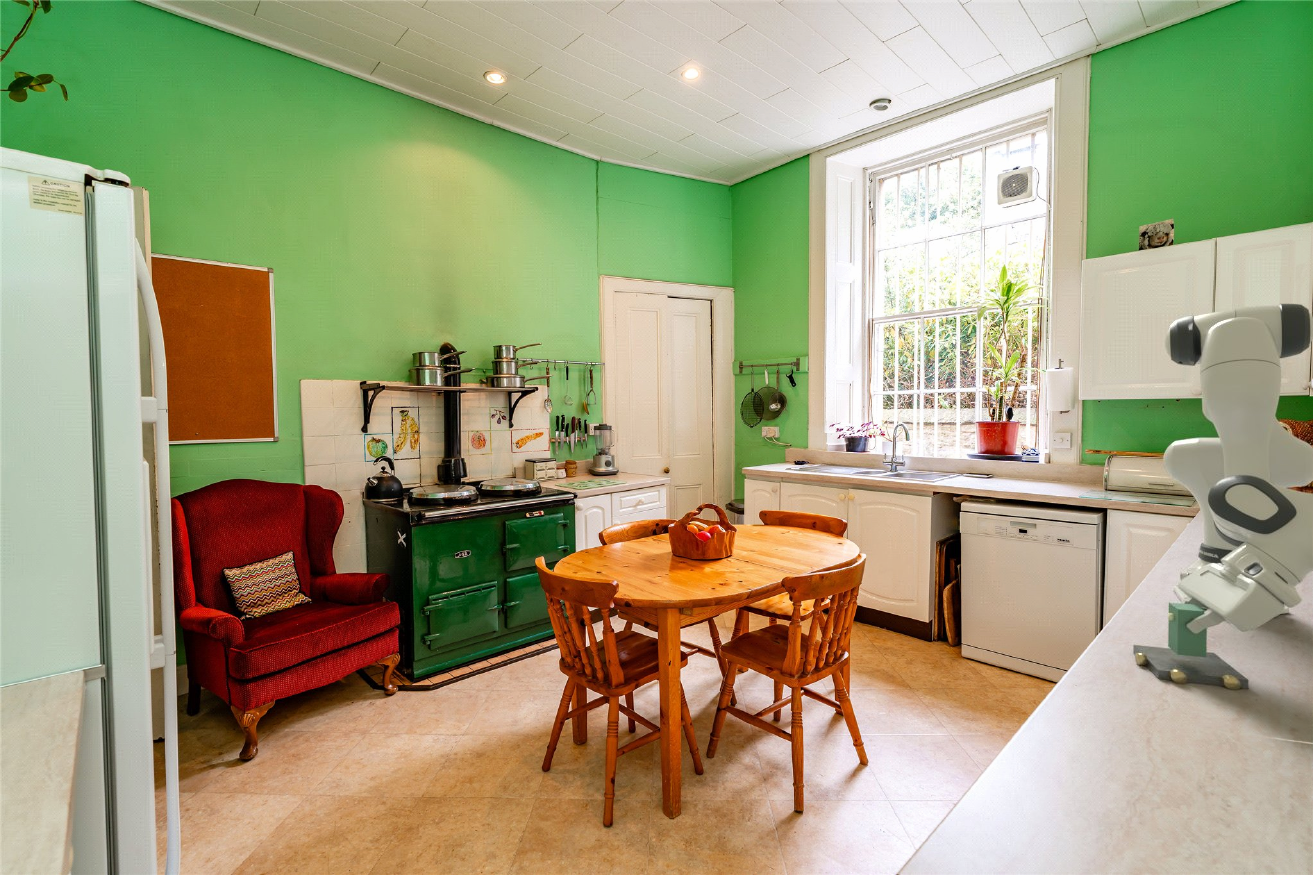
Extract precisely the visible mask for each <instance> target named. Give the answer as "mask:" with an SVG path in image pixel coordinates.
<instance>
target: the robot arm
mask: <svg viewBox="0 0 1313 875" xmlns="http://www.w3.org/2000/svg"><path fill="white" fill-rule="evenodd" d="M1312 342H1313V315H1312V314H1311V313H1310V311H1309V308H1307V307H1306V306H1304V305H1302V304H1298V303H1279V304H1278V305H1260V306H1259V305H1258V306H1255V305H1254V306H1245V307H1244V306H1243V307H1235V308H1234V309H1233V308H1232V309H1226V310H1220V311H1214V312H1209V313H1205V314H1204V313H1203V314H1199V315H1195V316H1194V315H1193V314H1192V315H1187V316H1184V317H1180V318H1177V319H1176V320H1174V321H1173V322H1172V323H1171V324H1170V325H1169V329H1168V330H1167V332H1166V335H1165V338H1164V347H1165V350H1166V352H1167V354H1168V356H1169V357H1170V359H1171V360H1170V361H1173V362H1174V363H1176V364H1177V365H1182V366H1190V367H1191V366H1192V367H1193V366H1196V365H1200V367H1199V368H1200V371H1199V374H1200V376H1199V378H1200V390H1201V406H1202V407H1201V408H1202V414H1203V415H1204V417H1205V418H1206V419H1207V420H1208V421H1210V422H1211V423H1212V424H1213V425H1214V428H1215V431H1216V432H1217V435H1218V437H1194V438H1193V437H1192V438H1185V439H1179V440H1174V441H1173V442H1172V443H1171V444H1170V445H1168V446H1167V448H1166V450H1165V451H1164V454H1163V457H1162V464H1163V468H1164V470H1165V472H1166V473H1167V474H1168V475H1169V476H1170V478H1171V479H1173V480H1174V481H1176V482H1178V484H1180V485H1182V486H1183V487H1184V488H1185V489H1187V490H1188V491H1189V493H1191V495H1192V496H1193V498H1194V499H1195V500H1196V502H1197V504H1198V506H1199V509H1200V513H1201V520H1202V543H1201V544H1200V546H1199V549H1198V555H1197V556H1198V559H1197V560H1196V561H1195V562H1193V563H1192V564H1191V565H1190V566H1189V567H1187V568H1186V570H1185V571H1181V572H1179V573H1180V574H1179V575H1180V576H1179V577H1180V578H1179V579H1180V581H1179V582H1178V584H1177V585H1176V584H1175V585H1173V587H1172V589H1173V591H1174V593H1175V594H1176V596H1177V598H1178V599H1179V600H1180V603H1181V604H1193V605H1198V606H1199V607H1201V608H1202V609H1204V610H1205V612H1204V613H1205V614H1203V615H1201V616H1199V617H1197V618H1195V619H1194V618H1191V619H1189V620H1188V621H1187V622H1185V626H1186V627H1187V628H1188V629H1190V630H1191V631H1192V632H1193V633H1196V634H1197V633H1199V632H1200V631H1202V630H1203V629H1205V628H1207V629H1208V628H1211V627H1212V628H1213V627H1215V626H1218V625H1220V624H1221V623H1223V622H1225V623H1226V624H1228V625H1230V626H1232V627H1233V628H1234V629H1237V631H1239V632H1242V633H1245V632H1249V631H1250V632H1251V631H1253V630H1255V629H1258V628H1259V627H1261V626H1263V625H1264V624H1266V623H1267V622H1270V621H1272V620H1273V619H1274V618H1275V617H1279V616H1280V615H1283V614H1289V613H1290V608H1291V609H1292V608H1294V607H1296V606H1298V605H1299V604H1300V603H1302V601H1303V599H1302V597H1301V596H1300V594H1299V592H1298V591H1297V588H1296V586H1298V585H1300V584H1301V583H1302V582H1303V581H1304V580H1305V579H1306V577H1307V576H1308V575H1309V574H1310V573H1311V572H1313V493H1311V492H1304V491H1299V490H1294V489H1292V488H1296V487H1306V486H1308V485H1309V484H1310V483H1312V482H1313V445H1311V444H1310V443H1308V442H1307V441H1304V440H1302V439H1300V438H1298V437H1296V436H1295V435H1293V434H1292V433H1290V432H1289V431H1288V430H1286V428H1285V427H1284V426H1282V424H1281V423H1280V422H1279V420H1278V419H1277V416H1276V414H1277V409H1278V405H1279V401H1280V400H1279V399H1280V394H1281V385H1282V370H1281V359H1284V358H1285V359H1286V358H1290V357H1293V356H1298V355H1300V354H1302V353H1303V352H1304V351H1307V349H1309V348H1310V344H1311V343H1312Z"/></svg>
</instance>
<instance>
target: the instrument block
mask: <svg viewBox="0 0 1313 875" xmlns="http://www.w3.org/2000/svg"><path fill="white" fill-rule="evenodd" d="M1205 611H1206V609H1204V608H1201V607H1199V606H1198V605H1193V604H1182V602H1180V603H1178V602H1177V603H1175V602H1168V613H1167V620H1168V627H1167V628H1168V629H1167V630H1168V632H1167V635H1168V637H1167V638H1168V639H1167V640H1168V641H1167V644H1168V646H1167V648H1170V649H1172V650H1173V651H1174V652H1175V653H1176V654H1177V655H1186V656H1196V657H1206V652H1207V648H1208V647H1207V644H1208V643H1207V641H1208V640H1207V639H1208V638H1207V637H1208V634H1207V633H1208V628H1205V629H1203V630H1202V631H1200V632H1199V633H1197V634H1196V633H1193V632H1192V631H1191V630H1190V629H1188V628H1187V627H1186V626H1185V622H1187V621H1188V620H1189V619H1191V618H1194V619H1195V618H1197V617H1199V616H1201V615H1203V614H1205V613H1204V612H1205Z"/></svg>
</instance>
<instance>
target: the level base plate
mask: <svg viewBox="0 0 1313 875" xmlns="http://www.w3.org/2000/svg"><path fill="white" fill-rule="evenodd" d="M1132 648H1133V649H1132V650H1133V652H1132V653H1133V654H1134V659H1135V663H1136V665H1137V666H1138V665H1139V666H1140V665H1141V666H1146V667H1147V669H1149V671H1150V672H1151V673H1152V674H1153V675H1154V676H1155V677H1156V678H1157V679H1159V680H1160V679H1161V680H1166V681H1167V680H1168V681H1173V682H1175V683H1176V684H1179V685H1181V684H1184V683H1193V684H1202V685H1213V686H1218V687H1220V686H1221V687H1226V688H1227V689H1228V690H1231V691H1232V690H1233V691H1237V690H1239V689H1244V690H1245V689H1247V690H1248V689H1249V679H1248V678H1247V677H1245V675H1243V674H1241V672H1239V671H1238V670H1237V669H1235V668H1234V667H1233V666H1231V665H1230V664H1229V663H1228V662H1226V661H1225V660H1223V659H1222V658H1221V657H1220V656H1219V655H1218V654H1216V652H1215V653H1214V652H1208V651H1206V657H1196V656H1186V655H1177V654H1176V653H1175V652H1174V651H1173V650H1172V649H1171V648H1169V647H1158V646H1149V645H1148V646H1147V645H1140V644H1139V645H1138V644H1133V647H1132Z"/></svg>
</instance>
